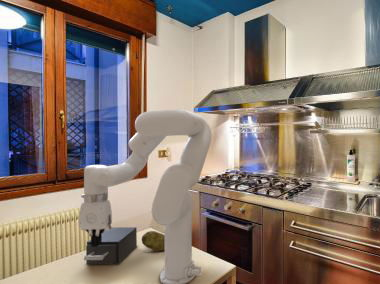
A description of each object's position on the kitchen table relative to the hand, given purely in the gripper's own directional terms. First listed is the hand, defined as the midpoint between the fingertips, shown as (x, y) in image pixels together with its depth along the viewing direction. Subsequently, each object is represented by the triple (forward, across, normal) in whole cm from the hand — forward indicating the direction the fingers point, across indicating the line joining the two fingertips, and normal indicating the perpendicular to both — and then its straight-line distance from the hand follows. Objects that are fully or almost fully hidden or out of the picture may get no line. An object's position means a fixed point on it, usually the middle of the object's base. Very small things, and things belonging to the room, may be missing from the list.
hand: (96, 245), depth 87 cm
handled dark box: (+8, 0, +7) cm, 11 cm away
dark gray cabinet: (+9, 0, +11) cm, 14 cm away
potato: (+9, +17, +16) cm, 25 cm away
